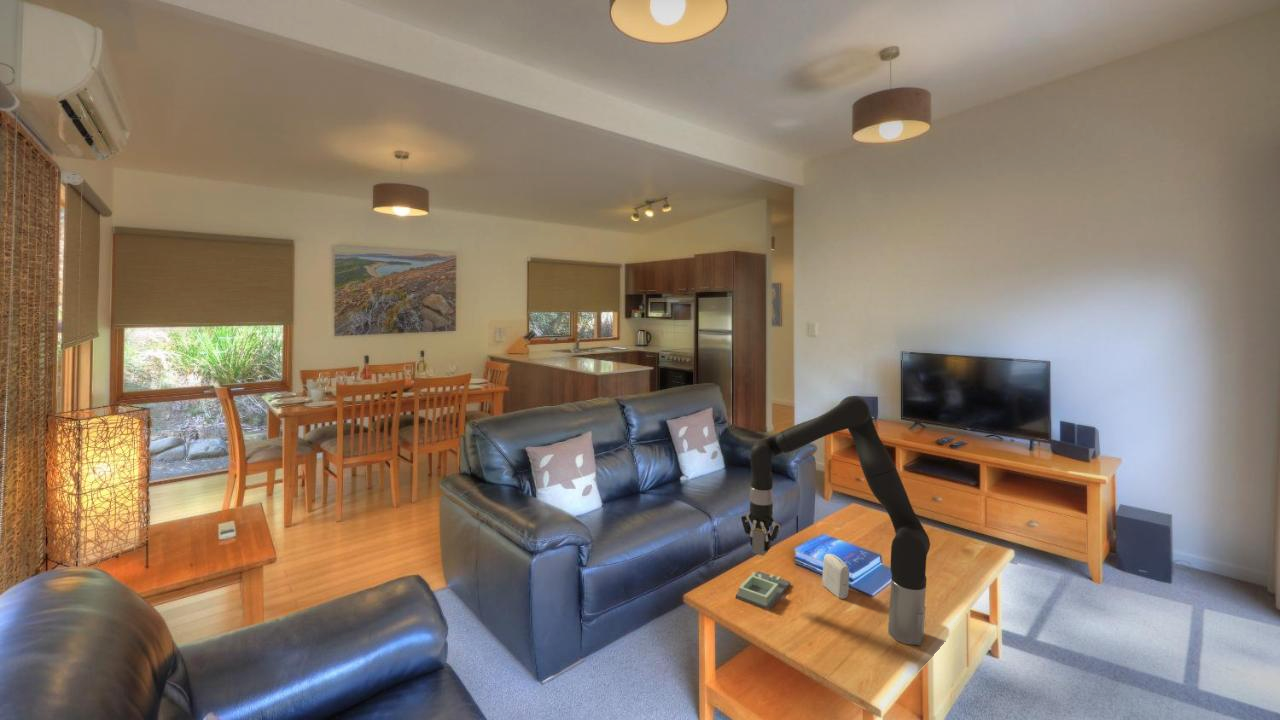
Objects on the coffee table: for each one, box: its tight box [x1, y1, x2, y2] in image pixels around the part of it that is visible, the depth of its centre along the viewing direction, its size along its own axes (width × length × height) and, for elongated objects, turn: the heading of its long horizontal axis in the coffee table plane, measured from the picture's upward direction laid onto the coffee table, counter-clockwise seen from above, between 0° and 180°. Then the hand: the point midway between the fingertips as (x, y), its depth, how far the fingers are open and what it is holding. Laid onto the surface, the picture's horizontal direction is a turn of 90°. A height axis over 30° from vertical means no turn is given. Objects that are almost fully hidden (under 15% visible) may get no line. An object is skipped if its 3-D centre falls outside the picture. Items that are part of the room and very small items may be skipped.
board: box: [735, 571, 791, 611], centre depth 178 cm, size 12×19×4 cm, turn 144°
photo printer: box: [821, 553, 850, 600], centre depth 178 cm, size 10×4×12 cm, turn 17°
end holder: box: [738, 574, 778, 606], centre depth 175 cm, size 10×10×3 cm
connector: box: [751, 528, 769, 557], centre depth 173 cm, size 4×4×9 cm
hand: (760, 548), depth 174 cm, fingers closed on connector, 4 cm apart
